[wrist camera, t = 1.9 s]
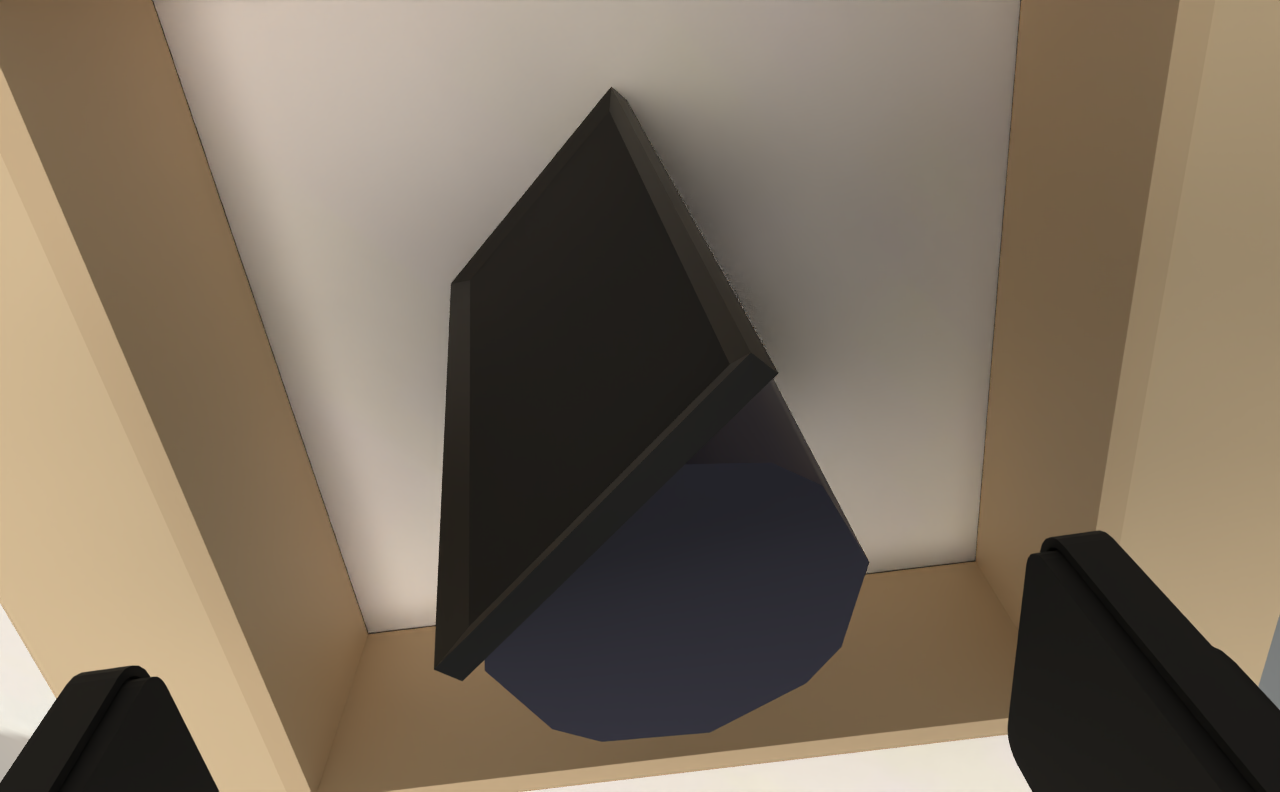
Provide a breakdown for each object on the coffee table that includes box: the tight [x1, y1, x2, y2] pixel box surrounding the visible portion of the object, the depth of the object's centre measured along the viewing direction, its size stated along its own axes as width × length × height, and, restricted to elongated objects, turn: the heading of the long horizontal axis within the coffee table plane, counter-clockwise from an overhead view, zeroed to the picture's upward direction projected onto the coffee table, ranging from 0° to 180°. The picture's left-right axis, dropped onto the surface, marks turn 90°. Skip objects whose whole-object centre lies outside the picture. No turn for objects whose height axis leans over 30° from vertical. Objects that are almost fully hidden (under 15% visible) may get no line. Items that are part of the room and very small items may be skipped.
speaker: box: [434, 87, 869, 742], centre depth 15 cm, size 8×6×10 cm
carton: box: [0, 0, 1280, 792], centre depth 17 cm, size 24×17×5 cm
